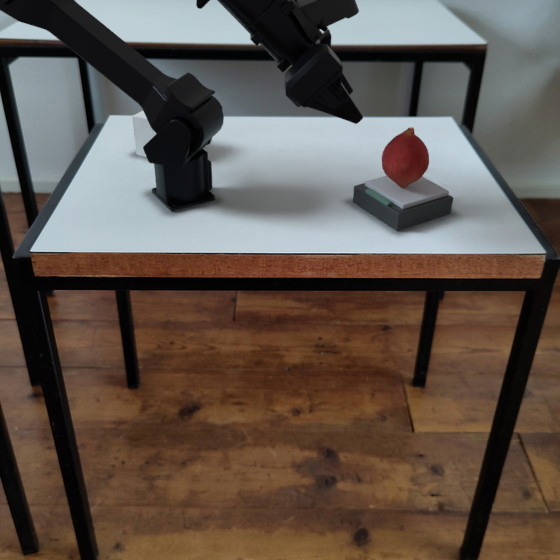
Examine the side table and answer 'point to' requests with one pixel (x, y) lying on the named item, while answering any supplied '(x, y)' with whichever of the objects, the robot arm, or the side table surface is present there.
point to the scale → (403, 201)
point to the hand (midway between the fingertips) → (354, 106)
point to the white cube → (141, 132)
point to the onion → (405, 158)
